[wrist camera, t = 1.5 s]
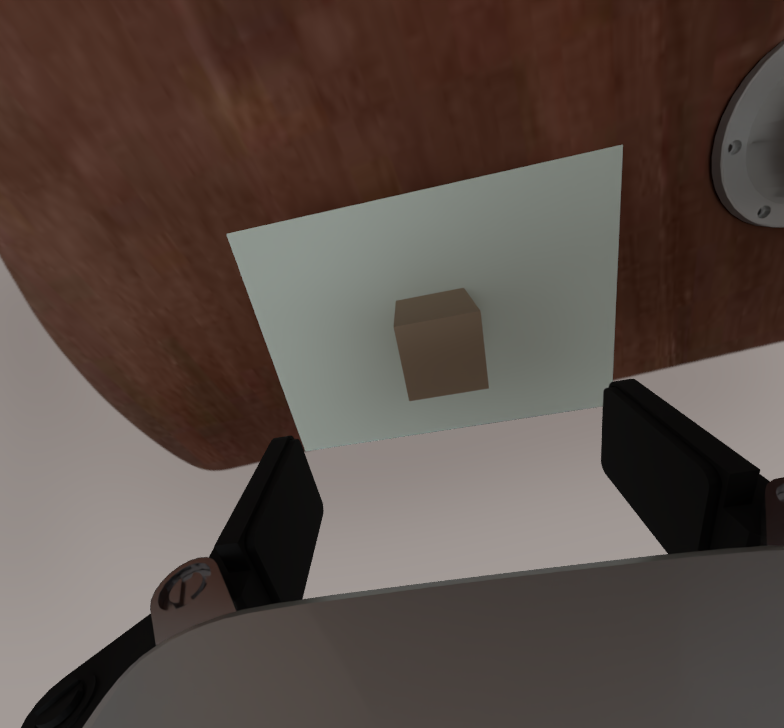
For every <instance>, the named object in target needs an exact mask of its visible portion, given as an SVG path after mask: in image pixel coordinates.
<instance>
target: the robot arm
mask: <svg viewBox="0 0 784 728" xmlns="http://www.w3.org/2000/svg"><path fill="white" fill-rule="evenodd" d="M712 177H713V182H714V186H715V190H716V192H717V194H718V196H719V198H720V200H721V203H722V204H723V205H724V206H725V207H726V208H727V210H728V211H729V212H730V213H731V214H732V215H734V216H736V217H737V218H739V219H740V220H742V221H744V222H747V223H750V224H753V225H756V226H765V227H784V40H783V41H782V42H781V43H779V44H778V45H777V46H776V47H775V48H774V49H772V50H771V51H770V52H769V53H768V54H767V55H766V56H764V57H763V58H762V59H761V60H760V62H759V63H758V64H757V65H756V66H755V67H754V68H753V69H752V70H751V72H750V73H749V74H748V75H747V76H746V77H745V79H744V80H743V82H742V83H741V85H740V86H739V88H738V89H737V90H736V92H735V93H734V95H733V96H732V98H731V100H730V102H729V104H728V106H727V108H726V110H725V112H724V114H723V116H722V118H721V121H720V124H719V127H718V130H717V133H716V136H715V140H714V146H713V152H712ZM602 418H603V419H602V449H601V464H602V468H603V470H604V472H605V474H606V475H607V476H608V478H609V479H610V480H611V481H612V483H613V484H614V485H615V487H617V489H618V490H619V492H620V493H621V494H622V496H623V497H624V498H625V499H626V501H627V502H628V503H629V504H630V506H631V507H632V508H633V510H634V511H635V512H636V513H637V515H638V516H639V517H640V518H641V520H642V521H643V522H644V524H645V525H646V526H647V527H648V529H649V530H650V531H651V532H652V534H653V535H654V536H655V537H656V539H657V540H658V542H659V543H660V544H661V545H662V547H663V548H664V549H665V550H666V552H667V553H668V554H666V555H656V556H647V557H638V558H630V559H621V560H613V561H604V562H596V563H587V564H578V565H570V566H561V567H553V568H544V569H536V570H529V571H520V572H512V573H503V574H495V575H487V576H479V577H471V578H463V579H455V580H446V581H440V582H439V581H438V582H430V583H423V584H415V585H407V586H400V587H391V588H384V589H377V590H368V591H361V592H353V593H345V594H337V595H330V596H323V597H316V598H310V599H303V600H302V598H303V594H304V590H305V586H306V582H307V578H308V574H309V570H310V566H311V562H312V557H313V553H314V549H315V545H316V541H317V537H318V533H319V529H320V524H321V521H322V517H323V503H322V500H321V497H320V494H319V492H318V489H317V486H316V484H315V481H314V478H313V475H312V473H311V470H310V467H309V465H308V462H307V459H306V456H305V453H304V451H303V448H302V445H301V443H300V441H299V440H298V439H294V438H293V437H292V436H285V437H279V438H274V439H273V440H272V441H271V443H270V444H269V446H268V448H267V450H266V452H265V454H264V455H263V457H262V459H261V461H260V463H259V465H258V467H257V469H256V470H255V472H254V474H253V476H252V478H251V479H250V481H249V483H248V485H247V487H246V489H245V490H244V492H243V494H242V496H241V498H240V500H239V502H238V504H237V505H236V507H235V509H234V511H233V513H232V515H231V516H230V518H229V520H228V522H227V524H226V526H225V527H224V529H223V531H222V533H221V535H220V536H219V538H218V540H217V542H216V544H215V546H214V549H213V551H212V553H211V554H210V556H209V558H208V557H201V558H196V559H193V560H190V561H188V562H186V563H184V564H182V565H181V566H179V567H178V568H176V569H175V570H174V571H172V572H171V573H170V574H169V575H168V576H167V577H166V578H165V579H164V580H163V581H162V582H161V583H160V585H159V586H158V587H157V589H156V590H155V592H154V594H153V597H152V599H151V605H150V610H151V614H149V615H148V616H147V617H145V618H144V619H143V620H141V621H140V622H139V623H137V624H136V625H135V626H133V627H132V628H131V629H129V630H128V631H126V632H125V633H124V634H122V635H121V636H120V637H118V638H117V639H116V640H114V641H113V642H112V643H110V644H109V645H108V646H106V647H105V648H104V649H102V650H101V651H99V652H98V653H97V654H96V655H94V656H93V657H91V658H90V659H89V660H87V661H86V662H85V663H83V664H82V665H81V666H79V667H78V668H77V669H75V670H74V671H72V672H71V673H70V674H68V675H67V676H66V677H65V678H63V679H62V680H61V681H59V682H58V683H57V684H56V685H55V686H53V687H52V688H51V689H50V690H49V691H48V692H47V693H46V694H45V695H44V696H43V697H42V698H41V699H40V700H39V702H38V703H37V704H36V705H35V707H34V708H33V709H32V711H31V712H30V713H29V715H28V716H27V718H26V719H25V721H24V723H23V725H22V727H21V728H784V477H783V478H778V479H774V480H772V481H771V482H770V481H768V480H767V479H766V478H764V477H763V476H762V475H760V474H759V473H760V469H758V468H757V467H756V466H754V465H753V464H752V463H750V462H749V461H747V460H746V459H744V458H743V457H742V456H740V455H739V454H738V453H736V452H735V451H733V450H732V449H731V448H729V447H728V446H727V445H725V444H724V443H722V442H721V441H719V440H718V439H717V438H715V437H714V436H713V435H711V434H710V433H709V432H707V431H705V430H704V429H703V428H701V427H700V426H699V425H697V424H696V423H695V422H693V421H692V420H691V419H689V418H688V417H686V416H685V415H684V414H682V413H681V412H679V411H678V410H677V409H675V408H674V407H673V406H671V405H670V404H668V403H667V402H666V401H664V400H663V399H661V398H660V397H659V396H657V395H656V394H655V393H653V392H652V391H650V390H649V389H648V388H646V387H645V386H643V385H642V384H641V383H639V382H638V381H636V380H635V379H627V380H621V381H615V382H611V383H610V384H609V388H605V389H604V391H603V417H602Z"/></svg>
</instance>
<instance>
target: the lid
mask: <svg viewBox="0 0 784 728" xmlns="http://www.w3.org/2000/svg"><path fill="white" fill-rule="evenodd" d="M622 155H623V145H619V146H614V147H610V148H605V149H601V150H596V151H592V152H588V153H583V154H579V155H574V156H570V157H565V158H561V159H557V160H552V161H548V162H543V163H539V164H534V165H530V166H526V167H521V168H517V169H512V170H508V171H503V172H499V173H495V174H490V175H486V176H481V177H477V178H472V179H468V180H464V181H459V182H455V183H450V184H446V185H441V186H437V187H433V188H428V189H424V190H419V191H415V192H410V193H406V194H401V195H397V196H393V197H388V198H384V199H379V200H375V201H370V202H366V203H362V204H357V205H353V206H348V207H344V208H339V209H335V210H331V211H326V212H322V213H317V214H313V215H308V216H304V217H300V218H295V219H291V220H286V221H282V222H277V223H273V224H269V225H264V226H260V227H255V228H251V229H246V230H242V231H238V232H233V233H229V234H227V237H228V240H229V243H230V245H231V248H232V251H233V254H234V256H235V259H236V262H237V265H238V267H239V270H240V273H241V276H242V278H243V281H244V284H245V287H246V289H247V292H248V295H249V298H250V300H251V303H252V306H253V309H254V311H255V314H256V317H257V320H258V322H259V325H260V328H261V330H262V333H263V336H264V339H265V341H266V344H267V347H268V350H269V352H270V355H271V358H272V361H273V363H274V366H275V369H276V372H277V374H278V377H279V380H280V383H281V385H282V388H283V391H284V394H285V396H286V399H287V402H288V405H289V407H290V410H291V413H292V416H293V418H294V421H295V424H296V427H297V429H298V432H299V435H300V437H301V440H302V443H303V446H304V448H305V451H311V450H318V449H324V448H331V447H338V446H344V445H351V444H357V443H364V442H371V441H377V440H384V439H390V438H397V437H404V436H409V435H417V434H423V433H430V432H437V431H443V430H450V429H456V428H463V427H469V426H476V425H483V424H489V423H496V422H502V421H509V420H516V419H522V418H529V417H536V416H542V415H549V414H555V413H562V412H569V411H575V410H582V409H588V408H594V407H602V406H603V391H604V389H605V388H609V384H610V383H611V382H613V359H614V336H615V314H616V291H617V268H618V246H619V223H620V200H621V178H622Z"/></svg>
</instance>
